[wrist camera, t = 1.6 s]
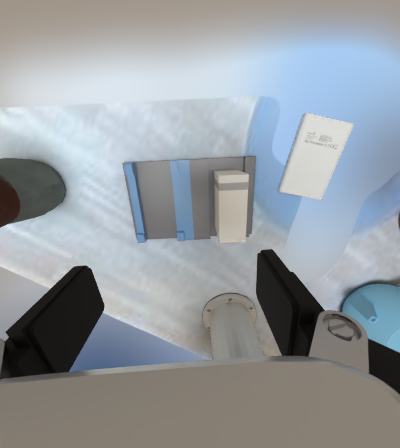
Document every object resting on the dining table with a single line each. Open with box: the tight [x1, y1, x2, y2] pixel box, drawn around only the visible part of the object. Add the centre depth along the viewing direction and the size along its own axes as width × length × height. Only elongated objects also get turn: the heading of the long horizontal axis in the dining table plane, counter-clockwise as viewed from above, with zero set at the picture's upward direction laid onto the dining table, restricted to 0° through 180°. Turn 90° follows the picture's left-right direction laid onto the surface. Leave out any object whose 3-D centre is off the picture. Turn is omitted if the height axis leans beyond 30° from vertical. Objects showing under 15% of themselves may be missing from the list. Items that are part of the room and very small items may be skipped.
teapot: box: [342, 284, 400, 353], centre depth 38 cm, size 15×15×11 cm
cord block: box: [214, 170, 249, 243], centre depth 29 cm, size 10×4×7 cm, turn 3°
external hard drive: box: [277, 113, 354, 200], centre depth 31 cm, size 2×8×12 cm
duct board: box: [122, 156, 256, 243], centre depth 32 cm, size 14×22×3 cm, turn 93°
